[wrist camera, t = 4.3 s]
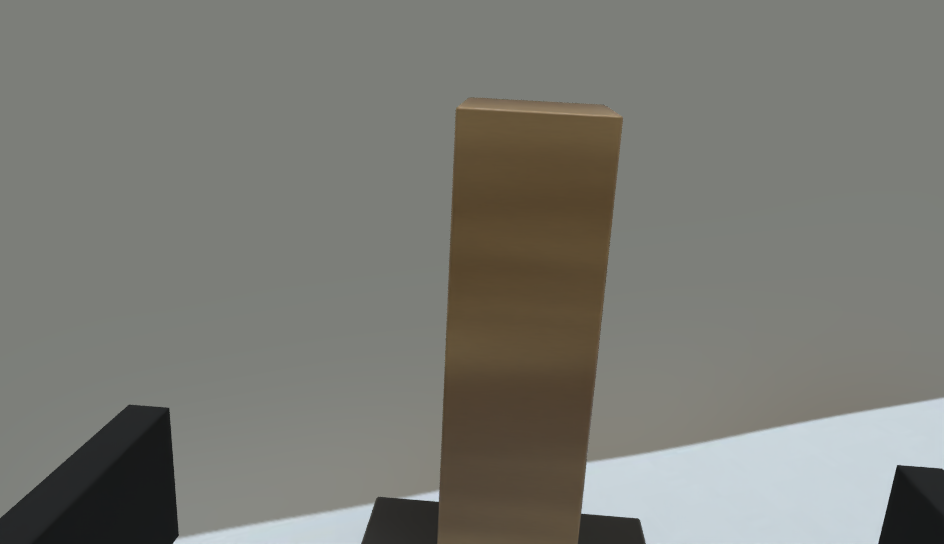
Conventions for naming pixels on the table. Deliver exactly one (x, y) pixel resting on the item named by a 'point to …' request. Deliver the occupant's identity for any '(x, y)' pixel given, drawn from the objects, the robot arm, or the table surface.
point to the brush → (521, 330)
